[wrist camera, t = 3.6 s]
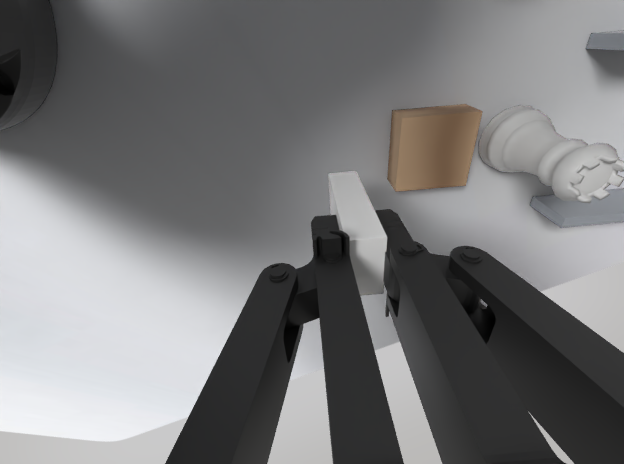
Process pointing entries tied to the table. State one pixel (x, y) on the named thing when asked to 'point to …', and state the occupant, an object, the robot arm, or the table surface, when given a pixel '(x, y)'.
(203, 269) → the table surface
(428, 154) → the walnut tile
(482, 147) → the rook chess piece
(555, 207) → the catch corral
